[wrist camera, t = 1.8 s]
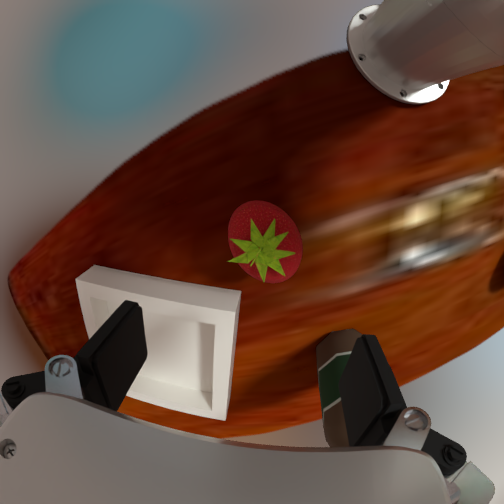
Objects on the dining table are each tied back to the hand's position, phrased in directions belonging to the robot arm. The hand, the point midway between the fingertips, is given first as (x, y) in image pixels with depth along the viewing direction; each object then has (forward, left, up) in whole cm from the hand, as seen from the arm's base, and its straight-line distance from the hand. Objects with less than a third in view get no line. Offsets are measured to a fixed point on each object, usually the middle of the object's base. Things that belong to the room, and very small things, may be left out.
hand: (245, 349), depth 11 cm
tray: (+18, -12, -19) cm, 28 cm away
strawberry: (0, 0, -19) cm, 19 cm away
